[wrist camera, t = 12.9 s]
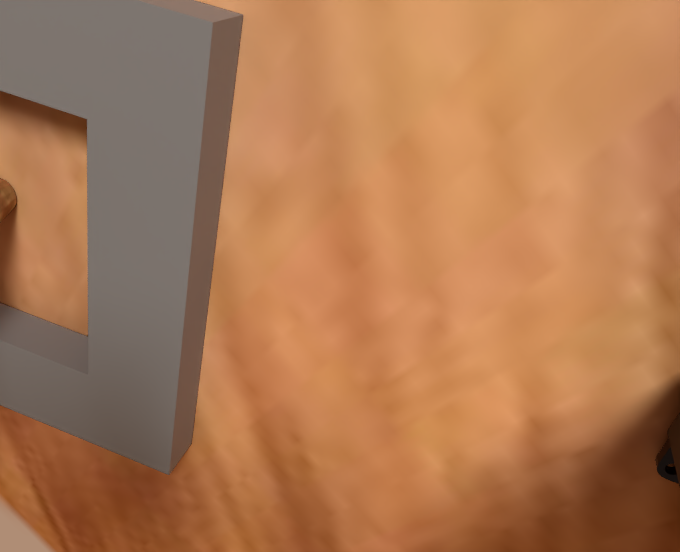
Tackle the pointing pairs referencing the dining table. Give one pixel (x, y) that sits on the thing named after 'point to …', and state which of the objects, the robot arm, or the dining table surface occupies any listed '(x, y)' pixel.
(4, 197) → the ice cream cone
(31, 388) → the grey flat square frame
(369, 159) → the dining table surface
